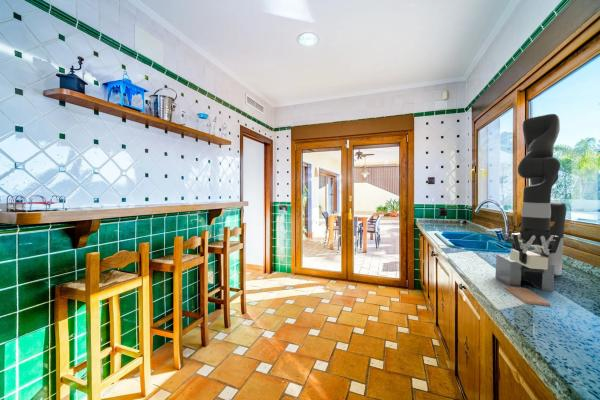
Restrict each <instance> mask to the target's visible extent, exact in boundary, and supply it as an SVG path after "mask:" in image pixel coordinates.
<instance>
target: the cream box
mask: <svg viewBox="0 0 600 400" xmlns="http://www.w3.org/2000/svg"><path fill="white" fill-rule="evenodd" d="M526 254H527V263H526V264H523V263H521V261H519V251H517V250H514V249H513V248H510V252H509V255H510V259H511V260H513V261H515V262H517V263H519V264H522V265H524V266H526V267H528V268H531V269H545V270H548V258H547V257H545V256H542V255H539V254H536V253H533V252H531V251H530V250H529V249H528V250H527V252H526Z"/></svg>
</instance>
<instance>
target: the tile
mask: <svg viewBox="0 0 600 400" xmlns="http://www.w3.org/2000/svg"><path fill="white" fill-rule="evenodd" d="M504 289H506V290H508V291H509V293H511V294H513V295H514V296H515V297H517V298H518V299H519V300H520V301H522V302H524V303H525V304H530V305H539V306H549V307H551V306H552V303H550V302H549V301H547V300H546V299H544V298H543V297H541V296H540V295H538V294H536V292H534V291H532V290H530V289H529V288H528V287H521V286H520V287H510V286H508V285H505V286H504Z"/></svg>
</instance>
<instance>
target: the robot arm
mask: <svg viewBox="0 0 600 400" xmlns="http://www.w3.org/2000/svg"><path fill="white" fill-rule="evenodd" d="M560 128H561V122H560V118H559V116H558V114H555V113H549V114H543V115H539V116H534V117H529V118H526V119H524V121H523V123H522V132H523V133H522V134H523V138H524V143H525V147H526V155H524V157H523V158H522V159H521V160H520V162H519V164H518V165H517V166H518V167H517V173H518V176H519V177H521V178H523V179H529V180H530V185H527V186H524V188H523V196H522V206H521V212H520V213H521V217H520V230H519V232H517V233H513V232H512V233H510V234H509V237H510V241H511V247H512V249H514V250H517V251H519V261H521V263H523V264H526V263H527V254H526V252H527V250H528V251H529V249H530V248H531V246H534V245H535V250H540V251H541V253H540V255H542V256H545V257H547V258H548V262H549V263H551V264H554V265H555V268H554V276H562V272H563V271H562V270H563V255H564V254H563V253H564V251H563V250H564V236H565V222H566V216H567V206H566V204H565V203H563V202H559V201H557V202H556V201H551V199H552V188H553V186H554V185H555V184H556V183H557V181H558V179H559V172H560V168H561V163H560V160H558V159H557V158H556V157H554V148H555V147H554V146H555V143H556V141H557V139H558V136H559V134H560V130H561V129H560ZM551 223H553V225H551ZM520 238H521V243H520Z"/></svg>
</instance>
